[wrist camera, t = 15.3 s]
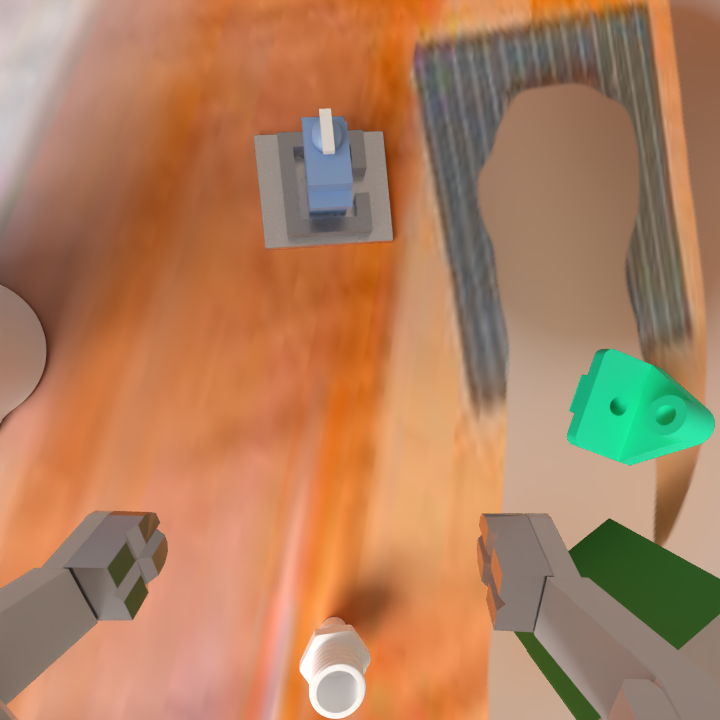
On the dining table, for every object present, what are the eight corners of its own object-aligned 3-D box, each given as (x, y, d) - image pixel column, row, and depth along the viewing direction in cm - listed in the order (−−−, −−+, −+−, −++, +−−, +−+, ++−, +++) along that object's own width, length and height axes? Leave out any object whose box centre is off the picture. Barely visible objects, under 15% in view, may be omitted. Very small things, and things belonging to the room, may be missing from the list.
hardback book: (530, 655, 46) (759, 972, 23) (497, 608, 46) (696, 882, 22) (639, 565, 48) (961, 771, 24) (609, 518, 47) (907, 682, 24)
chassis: (266, 250, 42) (263, 243, 40) (254, 139, 42) (251, 125, 39) (391, 242, 44) (396, 235, 41) (381, 135, 43) (385, 122, 41)
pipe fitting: (339, 588, 43) (344, 640, 36) (373, 637, 44) (387, 699, 36) (291, 623, 43) (286, 683, 35) (327, 672, 43) (330, 743, 35)
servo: (310, 228, 42) (309, 194, 33) (302, 150, 42) (300, 95, 33) (347, 226, 42) (356, 192, 33) (339, 149, 42) (346, 94, 33)
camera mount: (591, 346, 47) (668, 344, 37) (643, 368, 48) (733, 372, 38) (558, 439, 47) (627, 463, 37) (612, 459, 48) (694, 487, 37)
